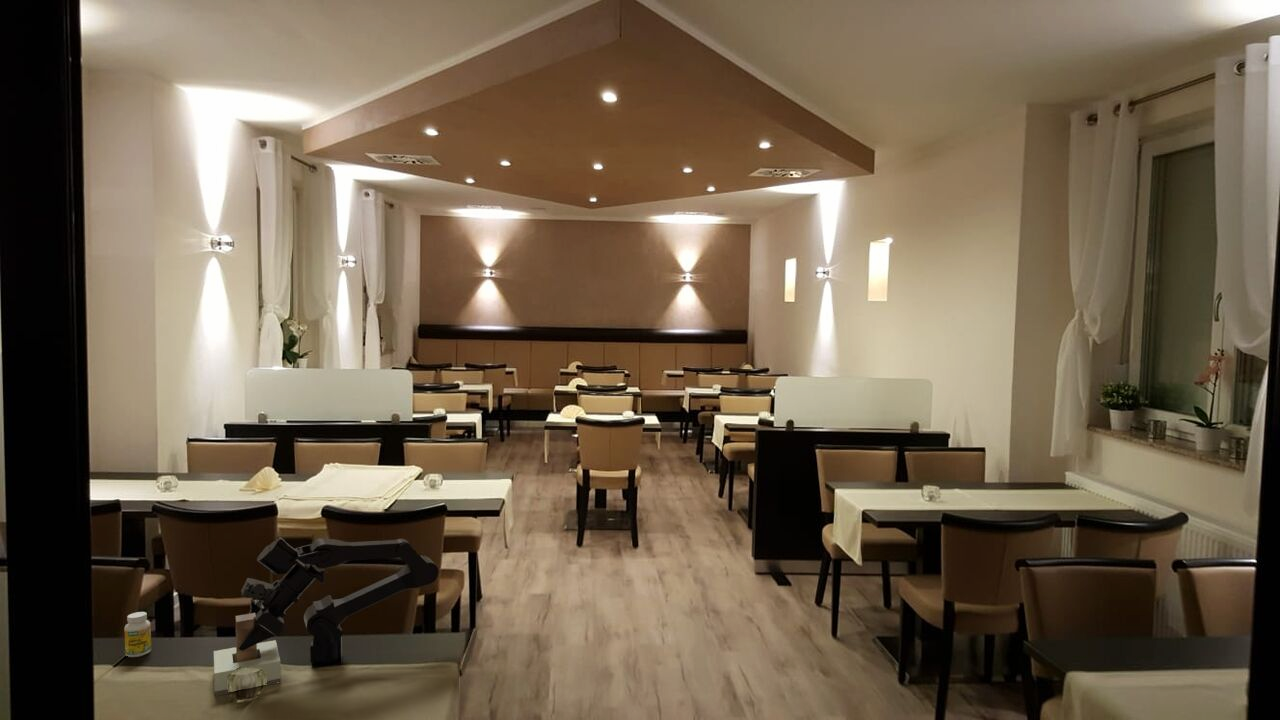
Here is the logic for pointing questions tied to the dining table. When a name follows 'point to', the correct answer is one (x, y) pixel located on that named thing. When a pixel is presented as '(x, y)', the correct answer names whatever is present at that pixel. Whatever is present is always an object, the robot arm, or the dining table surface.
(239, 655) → the walnut peg
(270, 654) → the socket block
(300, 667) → the dining table surface
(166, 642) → the dining table surface
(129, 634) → the supplement bottle
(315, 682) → the dining table surface
